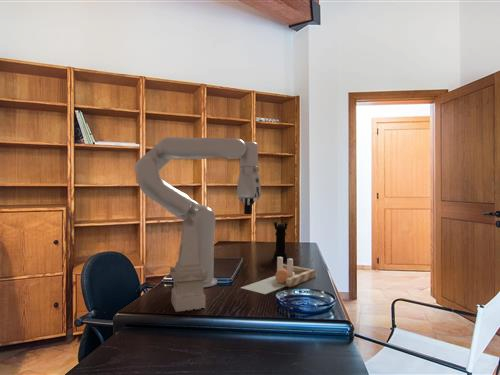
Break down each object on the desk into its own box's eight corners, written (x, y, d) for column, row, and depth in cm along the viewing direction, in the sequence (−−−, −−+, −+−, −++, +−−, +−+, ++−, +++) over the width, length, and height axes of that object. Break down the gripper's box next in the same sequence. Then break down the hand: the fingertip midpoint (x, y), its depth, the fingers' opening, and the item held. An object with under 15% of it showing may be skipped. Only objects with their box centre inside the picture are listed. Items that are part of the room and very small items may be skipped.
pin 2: (288, 281, 148) (288, 259, 148) (286, 279, 150) (286, 258, 150) (293, 281, 148) (293, 259, 148) (291, 279, 151) (291, 258, 151)
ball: (285, 287, 146) (275, 286, 142) (280, 274, 149) (270, 273, 146) (295, 278, 143) (285, 277, 139) (289, 266, 147) (279, 265, 143)
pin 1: (278, 279, 151) (278, 258, 151) (276, 277, 153) (276, 257, 153) (283, 278, 152) (283, 257, 151) (281, 277, 154) (281, 256, 154)
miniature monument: (169, 301, 120) (170, 214, 120) (199, 298, 124) (200, 213, 124) (174, 312, 111) (175, 217, 110) (207, 308, 114) (208, 216, 114)
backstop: (290, 287, 139) (290, 279, 139) (254, 279, 151) (254, 272, 151) (315, 276, 156) (315, 270, 156) (281, 270, 167) (281, 263, 167)
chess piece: (287, 258, 194) (288, 222, 194) (287, 261, 186) (288, 223, 186) (273, 257, 195) (273, 221, 195) (272, 260, 187) (273, 223, 187)
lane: (265, 294, 130) (265, 294, 130) (240, 288, 137) (240, 287, 137) (310, 276, 156) (310, 275, 156) (287, 271, 164) (287, 271, 164)
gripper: (268, 171, 148) (267, 215, 148) (241, 171, 158) (241, 212, 158) (256, 170, 142) (255, 215, 142) (230, 171, 152) (229, 213, 152)
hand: (247, 214), depth 150 cm, fingers closed
